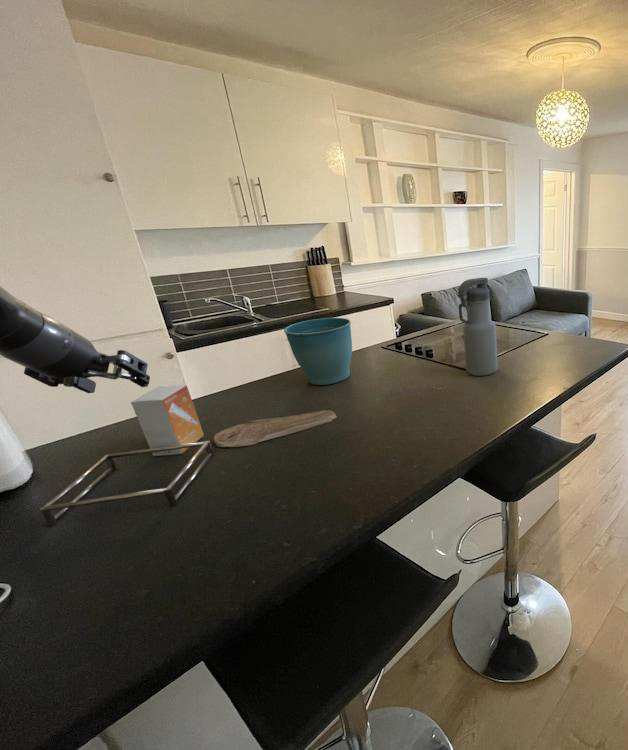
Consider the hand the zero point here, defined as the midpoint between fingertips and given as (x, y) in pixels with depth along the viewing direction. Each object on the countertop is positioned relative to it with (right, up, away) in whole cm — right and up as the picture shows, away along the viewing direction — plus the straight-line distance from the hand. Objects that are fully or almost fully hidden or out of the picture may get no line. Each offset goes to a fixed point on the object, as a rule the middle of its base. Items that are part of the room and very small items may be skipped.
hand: (119, 385), depth 75 cm
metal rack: (+2, -19, +2) cm, 20 cm away
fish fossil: (+18, -11, +22) cm, 30 cm away
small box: (-1, -14, +16) cm, 21 cm away
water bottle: (+64, +3, +51) cm, 82 cm away
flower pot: (+18, +1, +50) cm, 53 cm away
